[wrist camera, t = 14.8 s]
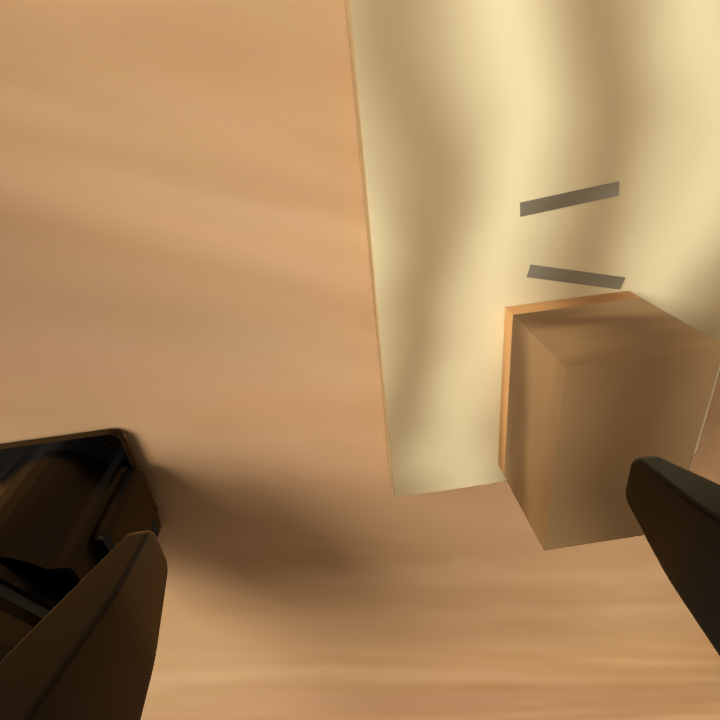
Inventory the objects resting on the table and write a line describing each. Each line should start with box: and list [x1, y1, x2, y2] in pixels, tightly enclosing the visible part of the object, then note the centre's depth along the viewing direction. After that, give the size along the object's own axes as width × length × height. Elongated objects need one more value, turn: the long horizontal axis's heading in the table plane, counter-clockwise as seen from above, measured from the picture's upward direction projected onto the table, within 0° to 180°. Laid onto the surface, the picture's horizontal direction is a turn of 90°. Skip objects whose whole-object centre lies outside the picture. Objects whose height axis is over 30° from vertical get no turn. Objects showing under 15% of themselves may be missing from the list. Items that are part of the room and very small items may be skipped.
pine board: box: [345, 0, 720, 498], centre depth 19 cm, size 15×22×2 cm
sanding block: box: [498, 291, 720, 550], centre depth 19 cm, size 5×8×5 cm, turn 6°
